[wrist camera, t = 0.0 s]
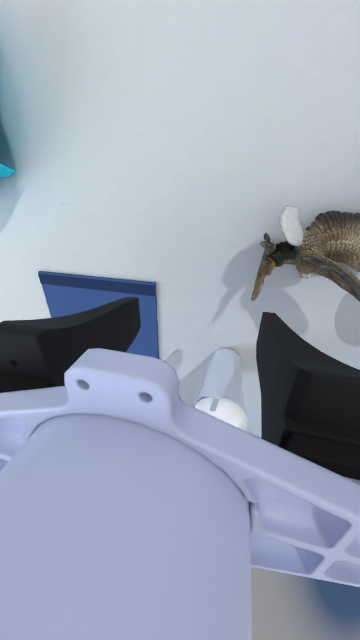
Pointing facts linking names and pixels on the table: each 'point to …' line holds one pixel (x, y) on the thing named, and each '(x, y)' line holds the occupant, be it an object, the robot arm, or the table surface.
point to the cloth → (104, 302)
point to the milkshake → (224, 389)
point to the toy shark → (5, 171)
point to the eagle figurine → (316, 248)
